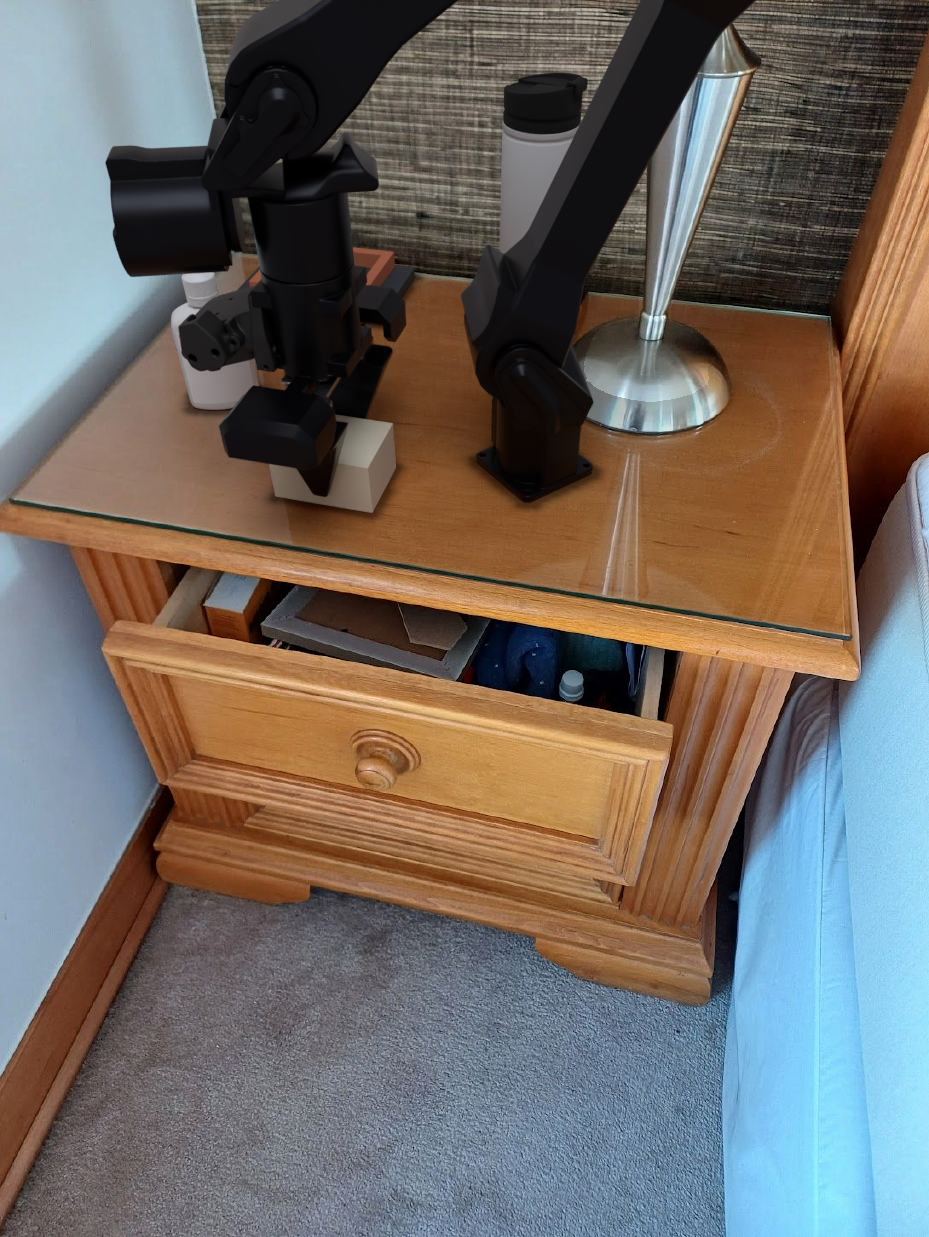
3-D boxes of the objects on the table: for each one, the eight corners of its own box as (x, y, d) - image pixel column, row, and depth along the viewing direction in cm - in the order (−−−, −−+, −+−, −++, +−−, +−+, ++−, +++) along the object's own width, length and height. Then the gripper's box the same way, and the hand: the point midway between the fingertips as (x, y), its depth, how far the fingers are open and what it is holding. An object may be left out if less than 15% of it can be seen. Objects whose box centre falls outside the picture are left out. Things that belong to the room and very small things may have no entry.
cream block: (396, 468, 68) (393, 423, 65) (372, 513, 64) (367, 467, 61) (303, 453, 69) (296, 408, 66) (275, 496, 66) (265, 451, 63)
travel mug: (547, 341, 81) (564, 92, 66) (485, 322, 83) (488, 78, 69) (580, 312, 84) (603, 70, 70) (519, 294, 87) (529, 57, 72)
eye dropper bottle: (244, 419, 72) (214, 275, 64) (182, 407, 74) (144, 264, 65) (268, 390, 75) (242, 248, 67) (208, 380, 77) (174, 239, 68)
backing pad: (415, 276, 89) (414, 252, 88) (383, 325, 83) (381, 300, 81) (275, 260, 92) (271, 235, 90) (232, 306, 85) (227, 280, 84)
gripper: (249, 191, 62) (283, 388, 74) (108, 320, 50) (175, 533, 61) (402, 207, 60) (413, 407, 72) (295, 346, 48) (329, 561, 59)
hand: (335, 470), depth 66 cm, fingers closed on cream block, 5 cm apart
